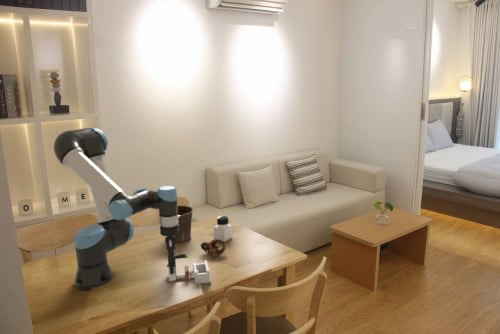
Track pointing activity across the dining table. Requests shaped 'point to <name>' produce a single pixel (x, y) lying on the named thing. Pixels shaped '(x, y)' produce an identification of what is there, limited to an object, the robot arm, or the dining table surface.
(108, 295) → the dining table surface
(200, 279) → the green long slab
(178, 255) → the phone
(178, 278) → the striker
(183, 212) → the plant pot
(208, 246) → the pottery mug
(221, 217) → the medicine bottle
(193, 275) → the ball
